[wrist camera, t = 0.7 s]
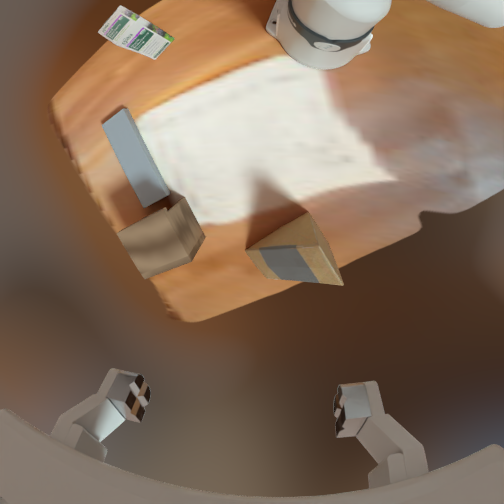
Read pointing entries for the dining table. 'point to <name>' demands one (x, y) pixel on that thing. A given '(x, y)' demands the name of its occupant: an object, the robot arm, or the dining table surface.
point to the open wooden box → (163, 239)
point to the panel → (135, 158)
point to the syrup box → (135, 33)
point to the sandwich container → (296, 254)
